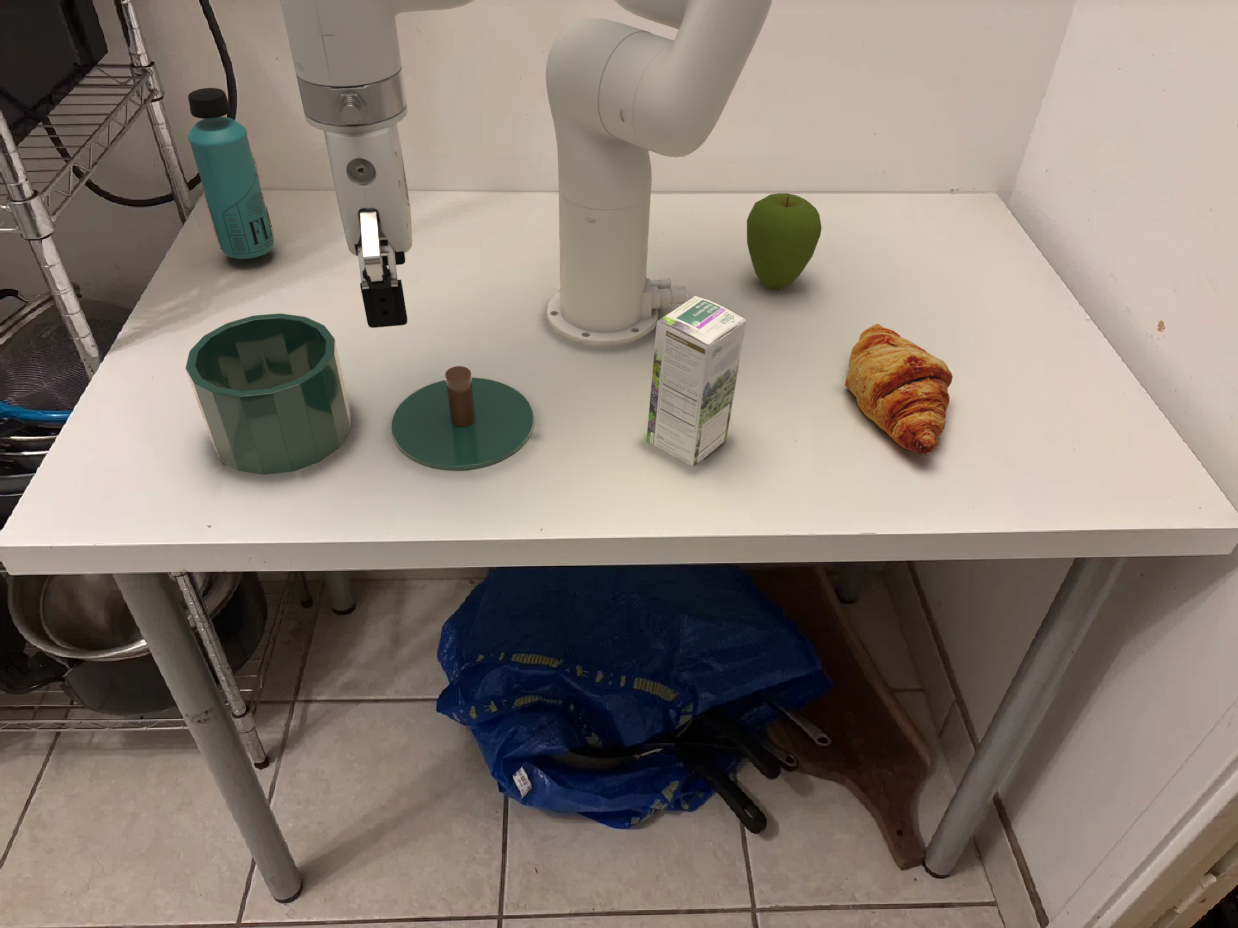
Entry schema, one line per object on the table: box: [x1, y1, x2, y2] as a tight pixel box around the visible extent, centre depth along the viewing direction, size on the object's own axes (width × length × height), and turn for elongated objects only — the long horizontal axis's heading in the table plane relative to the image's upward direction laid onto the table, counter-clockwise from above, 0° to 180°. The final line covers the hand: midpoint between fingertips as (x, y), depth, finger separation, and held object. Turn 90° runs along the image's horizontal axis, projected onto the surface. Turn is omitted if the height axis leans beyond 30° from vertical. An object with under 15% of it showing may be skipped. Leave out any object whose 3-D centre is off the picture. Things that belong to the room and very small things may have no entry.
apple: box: [746, 192, 823, 291], centre depth 109 cm, size 9×8×12 cm
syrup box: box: [645, 295, 747, 467], centre depth 85 cm, size 6×6×14 cm
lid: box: [391, 365, 535, 471], centre depth 88 cm, size 14×14×7 cm
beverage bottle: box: [187, 87, 276, 260], centre depth 107 cm, size 6×7×20 cm
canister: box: [185, 312, 352, 476], centre depth 86 cm, size 13×13×10 cm
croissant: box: [844, 323, 953, 455], centre depth 94 cm, size 21×10×8 cm, turn 3°
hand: (388, 292), depth 80 cm, fingers open, 9 cm apart
